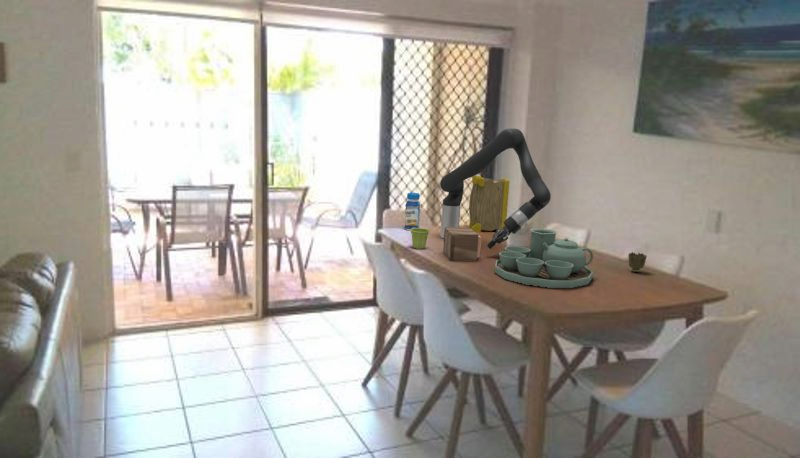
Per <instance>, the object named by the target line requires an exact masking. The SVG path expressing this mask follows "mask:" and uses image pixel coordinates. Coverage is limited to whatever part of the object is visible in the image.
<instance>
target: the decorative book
mask: <svg viewBox="0 0 800 458" xmlns="http://www.w3.org/2000/svg"><path fill="white" fill-rule="evenodd" d="M471 182H472V183H471V184H472V187H471V191H470V195H469V203H468V204H469V205H468V211H469V225H468V226H469V227H468V228H471V229H472V230H473V231H475V232H476V233H481V232H482V231H489V232H492V231H494V230H497V229H499V230H500V229H501V228H503V227H504V226H505V225H504V223H503V222H504V221H505V220H506V219H507V218H508V203H509V202H508V201H509V193H510V192H509V190H510V180H509V179H507V178H503V177H501V178H500V179H496V180H494V179H492V178H485V177H482V176H481V175H475V176H473V177H472V181H471Z"/></svg>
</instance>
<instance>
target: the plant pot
mask: <svg viewBox="0 0 800 458" xmlns="http://www.w3.org/2000/svg"><path fill="white" fill-rule="evenodd" d="M409 231H410V233H411V242H412V248H414V249H417V250H422V249H425V248H426V245H427V240H428V236H429V234H430V232H431V231H430V229H428V228H422V227H419V228H412V229H410V230H409Z"/></svg>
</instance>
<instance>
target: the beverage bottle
mask: <svg viewBox="0 0 800 458" xmlns="http://www.w3.org/2000/svg"><path fill="white" fill-rule="evenodd" d="M406 199H407V201H406V202H405V209H404V226H403V227H404V230H406V231H410V229H412V228H420V218H421V217H420V216H421V204H420V201H419V200H420V193H418V192H408V193H407V194H406Z"/></svg>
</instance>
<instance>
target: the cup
mask: <svg viewBox="0 0 800 458" xmlns="http://www.w3.org/2000/svg"><path fill="white" fill-rule="evenodd" d="M647 257H648V255H647V254H644V253H641V252H638V253H637V254H636V253H635V252H633V251H631V252H629V253H628V266H629V268H631V269H630V270H631V272H632V271H634V272H633V273H635V272H639V273H640V272H641V270H642V269H643V268H644V267H645V264H646V262H647Z"/></svg>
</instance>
